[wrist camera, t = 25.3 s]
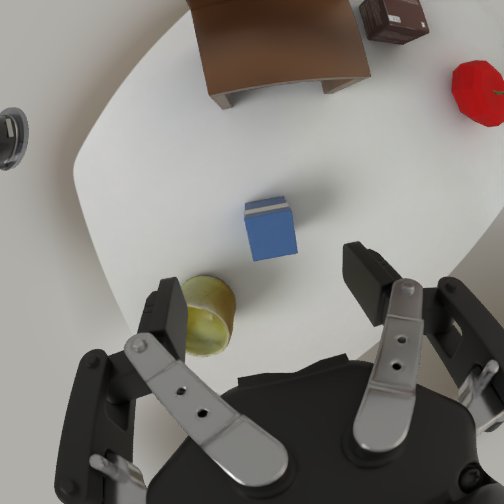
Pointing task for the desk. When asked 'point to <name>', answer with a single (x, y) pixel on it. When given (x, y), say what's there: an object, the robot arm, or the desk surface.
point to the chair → (277, 44)
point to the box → (393, 20)
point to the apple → (479, 92)
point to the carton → (270, 228)
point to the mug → (208, 315)
